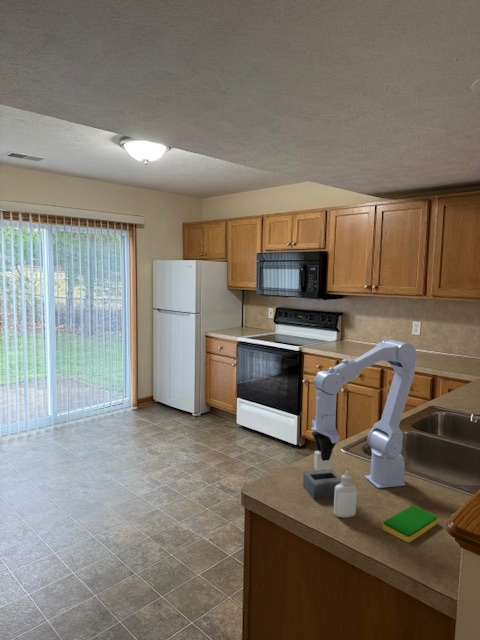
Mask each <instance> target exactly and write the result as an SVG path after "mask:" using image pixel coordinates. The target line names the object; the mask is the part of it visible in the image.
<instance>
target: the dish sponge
mask: <svg viewBox="0 0 480 640" xmlns="http://www.w3.org/2000/svg"><path fill="white" fill-rule="evenodd" d="M437 525H438V516H437V515H435V514H432V513H431V512H429V511H426V510H424V509H422V508H420V507H418V506H416V505H411V506H409V507H407V508H405V509H404V510H402V511H400V512H398V513H397V514H395V515H394V516H391V517H390V518H388V519H386V520H385V521H383V527H382V529H383V531H385V532H387V533H389V534H391V535H393V536H395V537H396V538H398V539H400V540H402V541H404V542H406V543H411V542H412V541H414V540H415V539H417V538H419V537H420V536H422V535H423V534H424V533H427V532H428V531H429V530H431V529H432V528H433V527H435V526H437Z"/></svg>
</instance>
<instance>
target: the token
mask: <svg viewBox="0 0 480 640" xmlns="http://www.w3.org/2000/svg"><path fill="white" fill-rule="evenodd" d="M313 459H314V461H313V468H314V470H315V471H316V470H328V469H332V470H333V469H334V468H333V467H334V466H333V465H334V452H333V451H332V453H331V457H330V460H326V461H323V460H322V457H321V451H317V450H314V457H313Z"/></svg>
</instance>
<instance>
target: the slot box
mask: <svg viewBox="0 0 480 640" xmlns="http://www.w3.org/2000/svg"><path fill="white" fill-rule="evenodd" d="M340 483H341V477H340V476H339V475H338V474H337V473H336V472H335V471H334V470H333V469H328V470H316V469H315V470H306V471H303V481H302V486H303V488H304V489H305V491H306V492H307V493H308V495H310V497H311V498H312V500H320V499H329V498H334V492H335V486H336V485H338V484H340Z"/></svg>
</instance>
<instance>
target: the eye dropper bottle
mask: <svg viewBox="0 0 480 640" xmlns="http://www.w3.org/2000/svg"><path fill="white" fill-rule="evenodd" d="M340 478H341V483H340V484H338V485H336V486H335V492H334V497H333V514H334V515H335V516H336V517H337V518H352V517H355V516H356V514H357V513H356V512H357V496H358V495H357V494H358V493H357V492H358V491H357V489H358V488H357V487H356V486H355V485H354V484H352V476H351V475H349V470H345V471H344V474H342V475H341V477H340Z"/></svg>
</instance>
